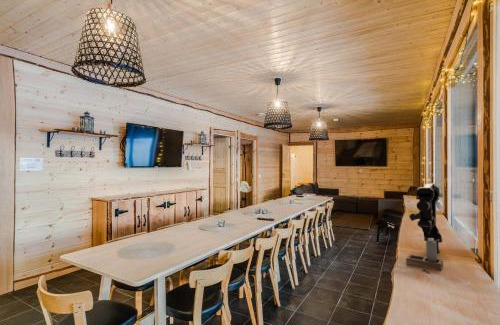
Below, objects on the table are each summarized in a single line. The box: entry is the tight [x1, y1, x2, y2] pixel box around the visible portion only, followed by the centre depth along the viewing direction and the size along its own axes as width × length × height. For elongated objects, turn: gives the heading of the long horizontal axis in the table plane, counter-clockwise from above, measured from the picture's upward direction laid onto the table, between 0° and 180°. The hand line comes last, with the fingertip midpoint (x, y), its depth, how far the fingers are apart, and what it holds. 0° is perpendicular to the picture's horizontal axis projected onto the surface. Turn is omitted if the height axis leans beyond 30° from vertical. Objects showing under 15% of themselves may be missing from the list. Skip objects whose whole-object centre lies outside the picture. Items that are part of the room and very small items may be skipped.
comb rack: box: [405, 254, 444, 272], centre depth 146 cm, size 8×16×4 cm, turn 49°
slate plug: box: [425, 238, 438, 263], centre depth 144 cm, size 5×5×15 cm
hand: (427, 235), depth 157 cm, fingers open, 9 cm apart
